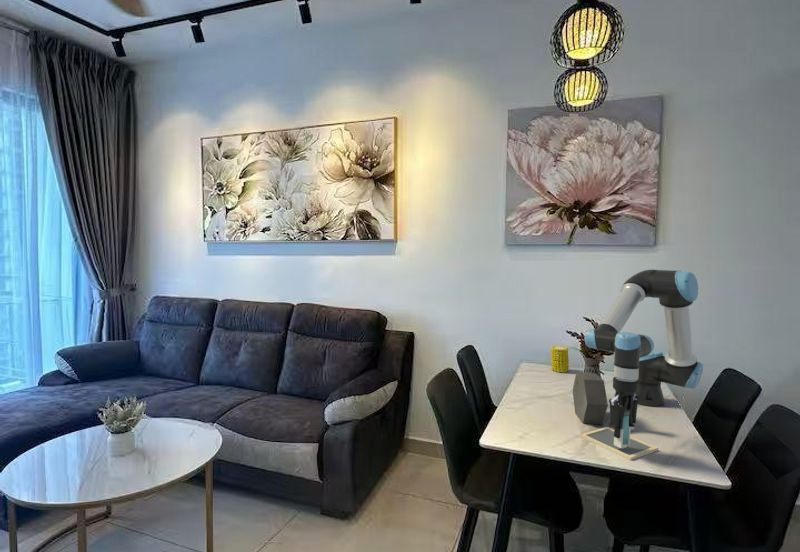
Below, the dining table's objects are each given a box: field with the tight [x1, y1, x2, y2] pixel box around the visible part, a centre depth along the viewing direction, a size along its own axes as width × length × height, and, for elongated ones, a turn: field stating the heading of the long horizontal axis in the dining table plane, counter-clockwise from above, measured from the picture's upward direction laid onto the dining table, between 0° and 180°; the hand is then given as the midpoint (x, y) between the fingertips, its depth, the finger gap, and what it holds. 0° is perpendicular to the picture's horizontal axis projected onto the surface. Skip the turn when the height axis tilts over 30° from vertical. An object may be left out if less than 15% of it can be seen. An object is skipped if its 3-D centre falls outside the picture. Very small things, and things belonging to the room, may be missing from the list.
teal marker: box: [622, 409, 630, 449], centre depth 146 cm, size 4×4×13 cm
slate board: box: [579, 426, 659, 461], centre depth 152 cm, size 15×19×1 cm
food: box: [549, 344, 570, 373], centre depth 241 cm, size 15×12×10 cm
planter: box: [572, 371, 608, 425], centre depth 173 cm, size 17×8×21 cm
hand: (621, 445), depth 146 cm, fingers closed on teal marker, 3 cm apart
